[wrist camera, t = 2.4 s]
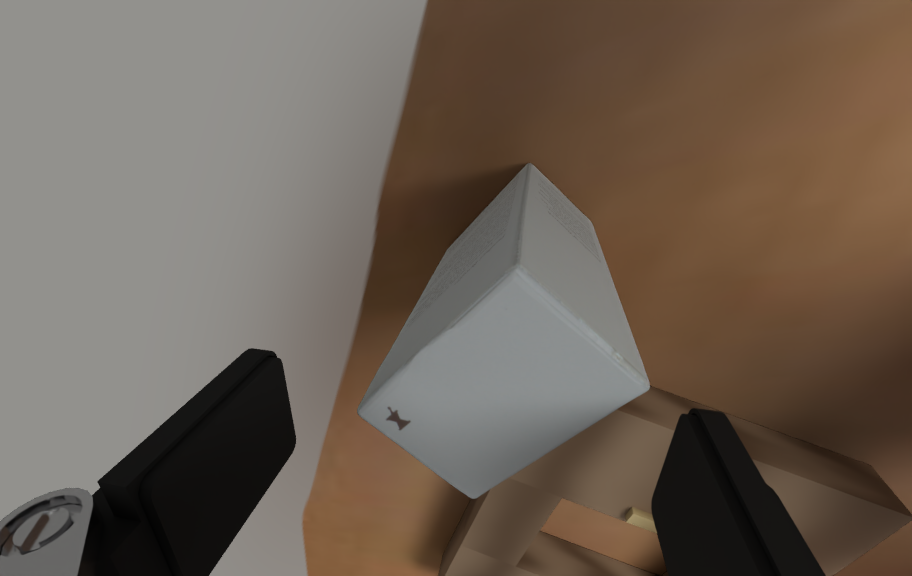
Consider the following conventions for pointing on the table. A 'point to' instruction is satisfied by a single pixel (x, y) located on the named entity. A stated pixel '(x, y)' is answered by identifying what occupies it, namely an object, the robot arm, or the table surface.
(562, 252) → the skincare box
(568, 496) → the board
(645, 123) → the table surface
